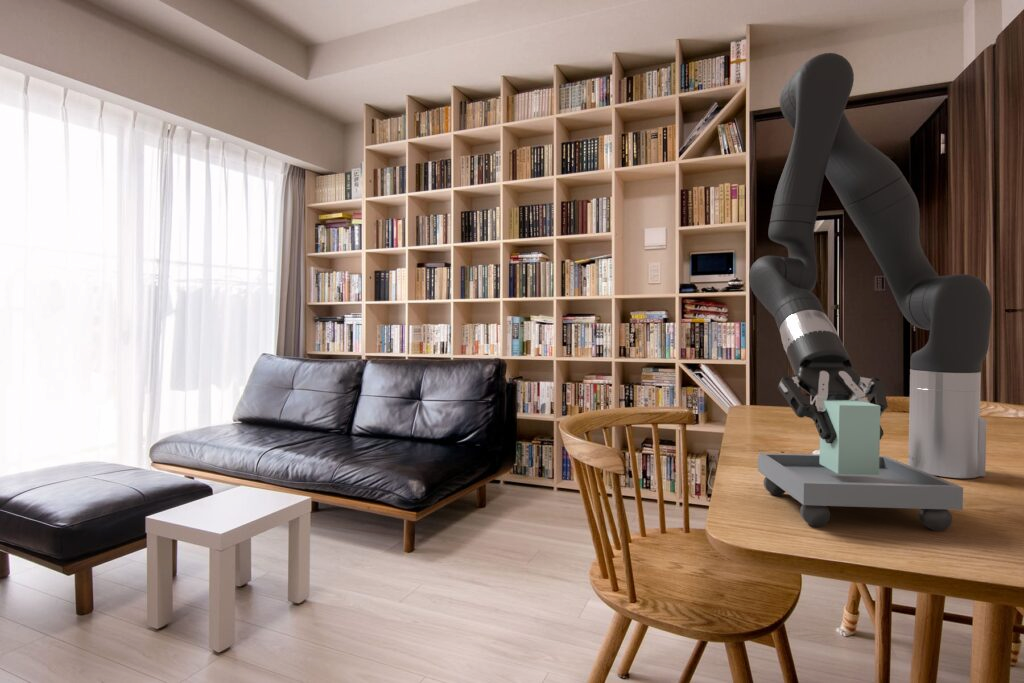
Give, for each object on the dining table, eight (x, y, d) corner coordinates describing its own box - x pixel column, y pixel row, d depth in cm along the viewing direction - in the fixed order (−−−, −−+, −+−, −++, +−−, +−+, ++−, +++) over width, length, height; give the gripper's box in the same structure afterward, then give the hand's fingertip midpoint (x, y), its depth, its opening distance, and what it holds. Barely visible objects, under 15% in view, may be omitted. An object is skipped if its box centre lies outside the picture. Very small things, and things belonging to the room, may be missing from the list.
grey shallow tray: (884, 494, 76) (885, 455, 76) (962, 534, 62) (963, 487, 61) (757, 490, 78) (758, 453, 78) (803, 529, 63) (803, 483, 63)
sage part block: (857, 464, 72) (858, 400, 72) (878, 474, 67) (880, 405, 67) (819, 463, 73) (820, 399, 72) (838, 473, 68) (839, 405, 67)
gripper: (771, 329, 78) (807, 423, 66) (872, 328, 76) (927, 425, 65) (757, 361, 83) (788, 454, 72) (851, 362, 82) (899, 457, 70)
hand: (854, 440), depth 68 cm, fingers closed on sage part block, 4 cm apart
